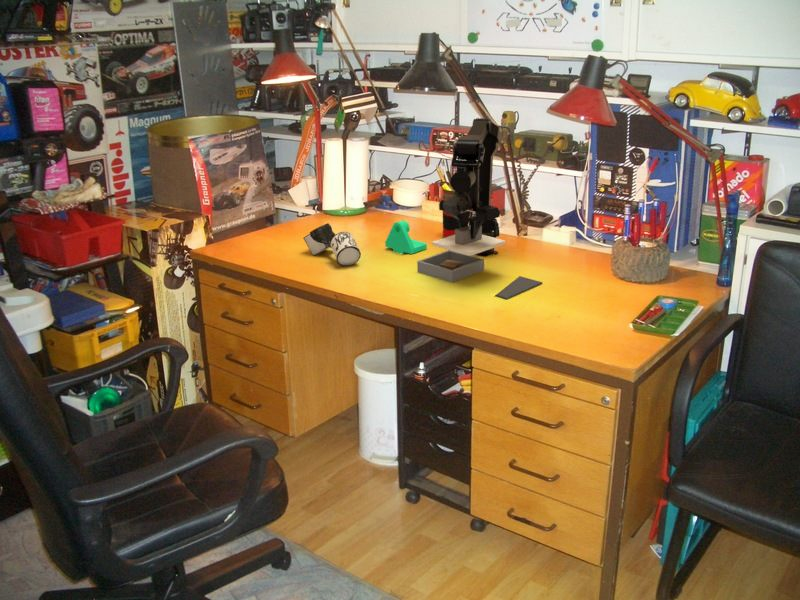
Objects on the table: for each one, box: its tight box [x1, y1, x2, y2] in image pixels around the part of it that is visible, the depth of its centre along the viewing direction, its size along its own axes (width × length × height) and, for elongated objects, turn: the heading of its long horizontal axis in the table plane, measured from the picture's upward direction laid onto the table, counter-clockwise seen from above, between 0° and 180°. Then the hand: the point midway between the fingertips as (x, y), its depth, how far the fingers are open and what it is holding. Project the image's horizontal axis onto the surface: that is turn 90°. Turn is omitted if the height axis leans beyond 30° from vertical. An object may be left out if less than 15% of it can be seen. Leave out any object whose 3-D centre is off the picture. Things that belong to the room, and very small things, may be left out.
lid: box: [431, 224, 507, 256], centre depth 227 cm, size 15×15×5 cm
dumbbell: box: [303, 222, 362, 267], centre depth 250 cm, size 25×10×10 cm, turn 37°
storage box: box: [416, 250, 485, 284], centre depth 235 cm, size 14×14×4 cm
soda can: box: [442, 211, 460, 238], centre depth 267 cm, size 8×8×12 cm
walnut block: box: [439, 260, 462, 270], centre depth 235 cm, size 5×5×2 cm
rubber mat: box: [494, 275, 543, 301], centre depth 224 cm, size 16×16×1 cm
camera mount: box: [384, 220, 428, 255], centre depth 256 cm, size 12×8×10 cm, turn 44°
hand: (468, 237), depth 227 cm, fingers closed on lid, 3 cm apart
